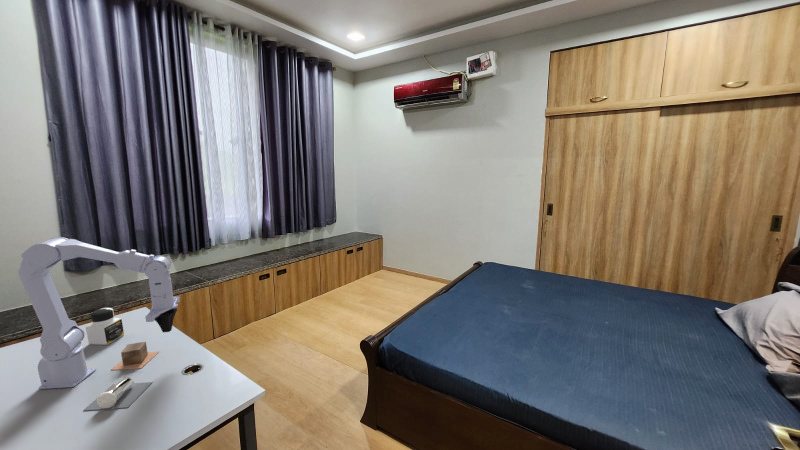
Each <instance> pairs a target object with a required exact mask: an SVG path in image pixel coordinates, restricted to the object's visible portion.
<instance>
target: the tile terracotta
mask: <svg viewBox="0 0 800 450" xmlns="http://www.w3.org/2000/svg"><path fill="white" fill-rule="evenodd" d="M147 352H148V355H147V357H146V358H145V360H144V361H143V363H139V364H134V365H128V366H123V361H122V360H121V361H120V362H118V363H117V364H116V365H115V366H113V367H112V368H111V369H110V371H121V370H122V371H123V370H135V369H136V370H137V369H143V367H145V366H146V365H147V364H148V363H149V362H150V361H151V360H152V359H153V358H154V357H155V356H156V355H158V354H159V352H160V351H147Z"/></svg>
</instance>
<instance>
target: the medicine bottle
mask: <svg viewBox="0 0 800 450" xmlns="http://www.w3.org/2000/svg"><path fill="white" fill-rule="evenodd" d="M90 318H91V322H92V323H90V324H89V325H86V326H85V331H86V336H87V342H88V345H110V344H111V343H113V342H115V341H116V340H117V339H119V338H122V337H123V336H124V335H125V331H124V325H123V321H122V318H120V317H115V312H114V309H113V308H111V307H102V308H99V309H95V310H94V311H92V312H91V313H90Z"/></svg>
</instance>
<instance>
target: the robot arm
mask: <svg viewBox="0 0 800 450" xmlns="http://www.w3.org/2000/svg"><path fill="white" fill-rule="evenodd" d="M21 258H22V259H21V263H20V266H19V268H18V276H19V278H20V279H19V280H21V283H22V286H23V287H24V289H25V292H26V294H27V296H28V300H29V301H30V303H31V305H32V307H33V309H34V311H35V315H36V317H37V318H38V321H39V323H40V325H41V327H42V332H41V335H40V338H39V342H40V344H41V346H40V351H39V352H40V355H41V356H42V357H41V358H40V360H39V361H38V364H37V372H38V376H39V380H40V386H39V387H38V389H39V390H43V389H46V390H47V389H57V388H58V389H60V388H74V387H76V386H78V384H80V383H81V382H83V380H85V379H86V378H88V377H89V376H90V375H91V374H92V373H94V372H95V371H96V370H97V369H96V368H87V367H88V366H87V362H86V358H85V352H84V348H83V344H82V341H84V338H85V335H86V334H85V330H84V329H83V328H81V327H80V326H78V323H77V321H75V320H72V319H70V318H69V315H68V314H67V311H66V308H65V306H64V304H63V301H62V300H61V297H60V294H59V292H58V289H57V287H56V285H55V283H54V281H53V278H52V276H51V274H50V272H51V270H52V269H53V268H54V267H55V266H57V264H58V263H59V262H61V261H62V262H64V261H68V260H71V259H77V258H85V259H89V260H90V259H91V260H96V261H101V262H107V263H113V264H114V265H115V266H116V267H117V268H118V269H122V270H126V271H131V272H137V273H140V274H145V276H146V277H147V278H148V286H149V292H150V293H149V294H150V299H151V306H152V307H151V309H150V310H149V312H148V313H147V315H145V322H146V323H149V322H151V323H152V322H156V323H157V324H158V326H159V328H160V330H161V331H162V333H170V332H171V331H172V329H173V323H174V319H175V315H176V313H177V312H178V308H177V307H178V306H179V303H180V302H181V300H180V299H181V298H180V296H174V293H173V292H174V291H173V285H172V277H171V272H170V268H171V265H172V262H171V260H170V259H169V258H168V257H166V256H164V255H162V254H160V255H155V254H145V253H140V252H137V249H132V248H131V249H130V250H128V249H126V250H123V251H115V250H112V249H108V248H104V247H101V246H98V245H95V244H94V245H93V244H91V243H86V242H83V241H79V240H78V239H75V238H66V237H62V236H55V237H52V238H50V239H48V240H45V241H43V242H40V243H35V244H33V245H31V246H29V247H28V248H27V249H26V250H24V252H22V253H21Z"/></svg>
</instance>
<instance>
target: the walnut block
mask: <svg viewBox="0 0 800 450" xmlns="http://www.w3.org/2000/svg"><path fill="white" fill-rule="evenodd" d="M148 352H149V351H148V347H147V342H146V341H140V342H135V343H128V344H126V346H125V347H124V348H123V350H122V351H121V352H120V354H121V361H123V366H128V365H134V364H139V363H143V361H144V360H145V358H146V357H147V355H148Z"/></svg>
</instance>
